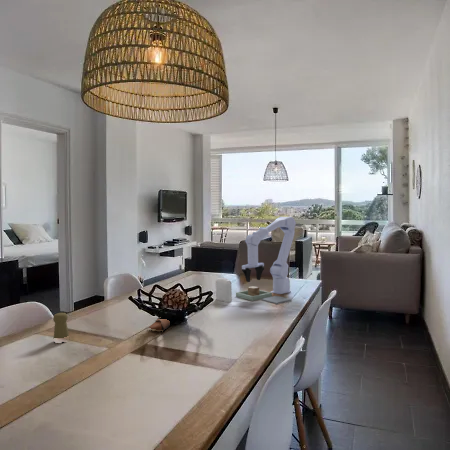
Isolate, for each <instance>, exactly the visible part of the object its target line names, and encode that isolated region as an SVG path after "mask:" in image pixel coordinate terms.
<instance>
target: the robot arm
mask: <svg viewBox="0 0 450 450" xmlns="http://www.w3.org/2000/svg"><path fill="white" fill-rule="evenodd" d="M296 224H297V222H296V220H295V218H294V217H292V216H279V217H277V218H276V219H275V220H274V221H272V222H271V223H269V224H268V225H267V226H266V227H258V229H257V230H256V231H253V232H252V233H251V234H247V236H246V238H245V239H244V241H245V243H246V247H247V264H243V265H241V271H242V272H243V274H244V277H245V280H246V282H247V283H250V282H251V274H252V273H251V272H252V269H253V268H254V270H255V274H256V280H257V281H260V280H261V277H262V275H263V272H264V270H265V263H264V262H259V244H260V243H261V242H262V240H264V239H265V238H266V237H268V236H269V235H270V233H271V232H273V231H275V230H276V229H278V228H280V230H281V231H282V232H283V233H284V234H283V239H282V242H281V245H280V248H279V252H278V256H277V259H276V260H275V261H273V264H272V265H271V267H269V268H270V269H269V272H270V274H271V276H272V290H271V291H270V292H271V293H272V294H277V295H281V294H283V295H284V294H286V293H287V294H288V293H291V288H290V287H291V285H290V278H289V277H287V276H288V274H289V264H288V263H287V262H288V257H289V254H290V251H291V247H292V244H293V241H294V237H295V235H296V234H295V233H296V232H295V231H296V230H295V228H296Z"/></svg>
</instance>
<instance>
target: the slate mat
mask: <svg viewBox="0 0 450 450" xmlns="http://www.w3.org/2000/svg"><path fill="white" fill-rule="evenodd" d="M261 301H262V302H263V301H264V302H268V303H271V304H274V305H280V304H284V303H285V304H286V303H289V302H292V298H287V297H283V296H279V295H272V297H268V298H263V299H261Z"/></svg>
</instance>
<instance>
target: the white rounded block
mask: <svg viewBox="0 0 450 450" xmlns="http://www.w3.org/2000/svg"><path fill="white" fill-rule="evenodd" d="M232 290H233V289H232V281H231V280H229V279H228V278H225V277H218V278H216V280H215V299H216V300H217V301H221V302H225V303H231V302H232V300H233V296H232V295H233V294H232V293H233V292H232Z"/></svg>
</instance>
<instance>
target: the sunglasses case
mask: <svg viewBox="0 0 450 450" xmlns="http://www.w3.org/2000/svg"><path fill="white" fill-rule="evenodd" d="M170 326H171V325H170V321H169V320H167V319H159V318H157V319H156V320H155V322H153V323H152V324H151V325H149V327H148V328H151V329H156V330H163V331H164V330H165V329H166V330H167V329H168V328H169V327H170ZM166 330H165V331H166ZM165 331H164V332H165Z"/></svg>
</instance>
